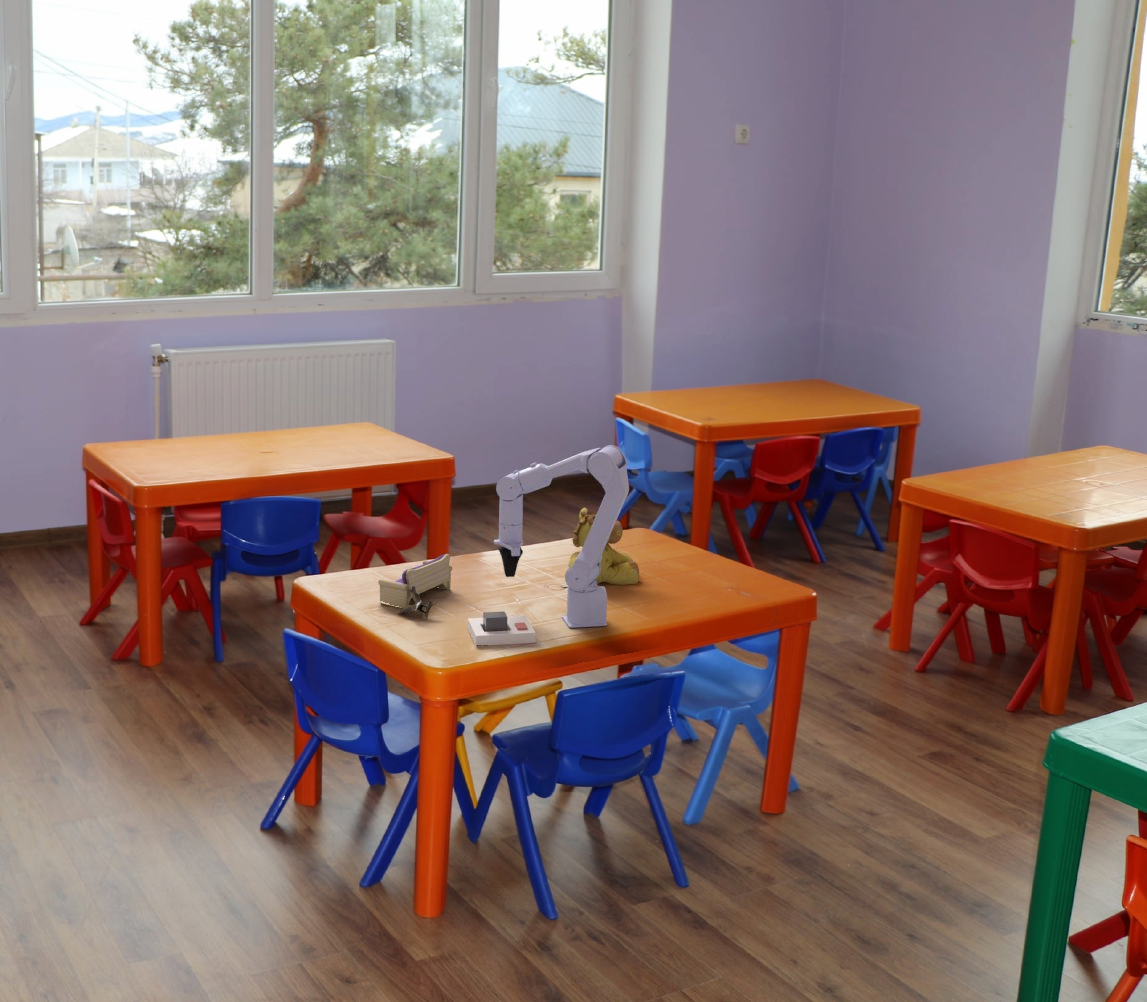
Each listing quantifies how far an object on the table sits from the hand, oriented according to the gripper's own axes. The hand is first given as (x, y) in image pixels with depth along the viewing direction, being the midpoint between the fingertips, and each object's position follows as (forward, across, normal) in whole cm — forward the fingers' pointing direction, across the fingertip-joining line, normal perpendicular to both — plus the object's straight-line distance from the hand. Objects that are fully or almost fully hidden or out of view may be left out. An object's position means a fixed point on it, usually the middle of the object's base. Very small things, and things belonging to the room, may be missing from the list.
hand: (509, 576), depth 315 cm
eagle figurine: (+10, -2, -23) cm, 25 cm away
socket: (+9, +16, -5) cm, 19 cm away
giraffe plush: (+10, -23, +29) cm, 38 cm away
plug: (+9, +17, -7) cm, 20 cm away
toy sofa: (+10, -16, -21) cm, 28 cm away
